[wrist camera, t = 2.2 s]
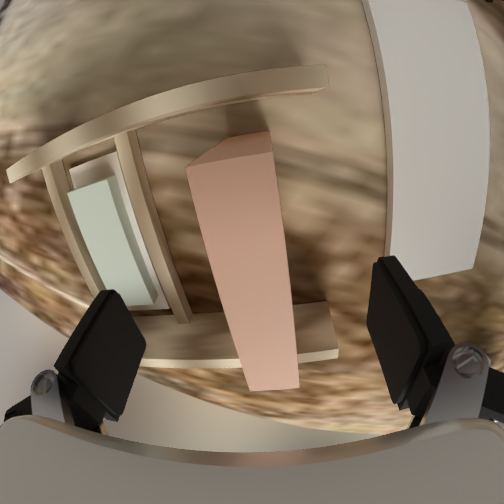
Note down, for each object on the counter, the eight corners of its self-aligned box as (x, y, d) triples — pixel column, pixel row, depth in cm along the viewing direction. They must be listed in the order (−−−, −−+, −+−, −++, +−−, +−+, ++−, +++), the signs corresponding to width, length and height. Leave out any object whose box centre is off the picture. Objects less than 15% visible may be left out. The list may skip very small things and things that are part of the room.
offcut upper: (115, 174, 16) (106, 179, 15) (158, 294, 21) (153, 304, 20) (76, 187, 16) (67, 193, 15) (120, 297, 21) (115, 306, 20)
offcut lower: (124, 148, 16) (116, 151, 15) (173, 299, 23) (169, 308, 22) (77, 165, 17) (68, 169, 16) (129, 302, 23) (124, 310, 22)
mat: (460, 5, 8) (467, 3, 7) (466, 262, 18) (472, 268, 17) (354, -21, 9) (358, -26, 8) (382, 277, 19) (386, 285, 19)
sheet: (269, 130, 15) (272, 152, 7) (290, 284, 20) (299, 387, 12) (227, 137, 15) (185, 167, 7) (257, 287, 20) (250, 391, 13)
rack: (308, 78, 13) (325, 64, 9) (327, 310, 21) (337, 357, 17) (50, 151, 15) (6, 169, 11) (121, 323, 24) (100, 362, 19)
